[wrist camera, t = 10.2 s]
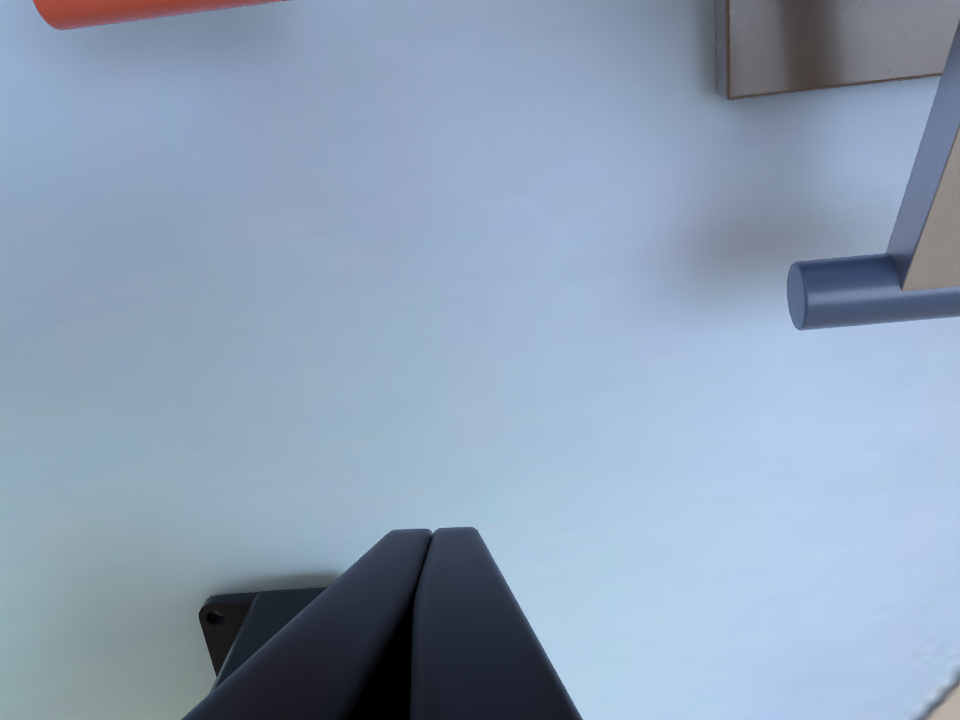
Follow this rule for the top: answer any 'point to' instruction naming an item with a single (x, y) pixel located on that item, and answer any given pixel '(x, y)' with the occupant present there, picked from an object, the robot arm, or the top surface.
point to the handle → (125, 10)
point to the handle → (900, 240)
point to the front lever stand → (828, 43)
